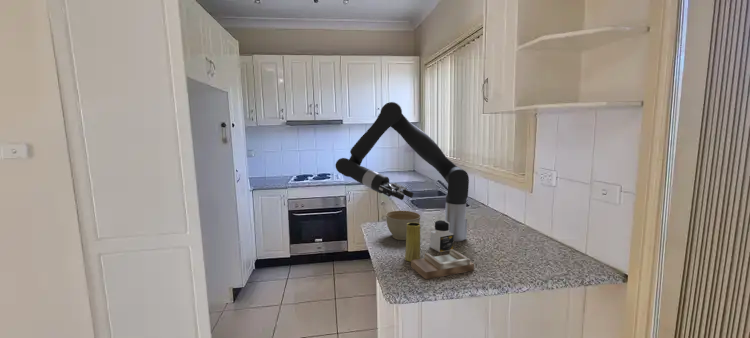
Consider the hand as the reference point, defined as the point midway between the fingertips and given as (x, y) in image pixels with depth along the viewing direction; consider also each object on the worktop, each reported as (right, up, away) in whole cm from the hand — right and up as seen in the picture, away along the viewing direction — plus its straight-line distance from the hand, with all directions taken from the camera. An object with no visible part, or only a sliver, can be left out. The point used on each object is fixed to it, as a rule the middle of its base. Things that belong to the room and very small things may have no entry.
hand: (408, 196), depth 135 cm
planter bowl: (0, -21, +23) cm, 32 cm away
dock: (+11, -26, -11) cm, 30 cm away
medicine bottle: (+15, -23, +9) cm, 29 cm away
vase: (+2, -25, -3) cm, 25 cm away
